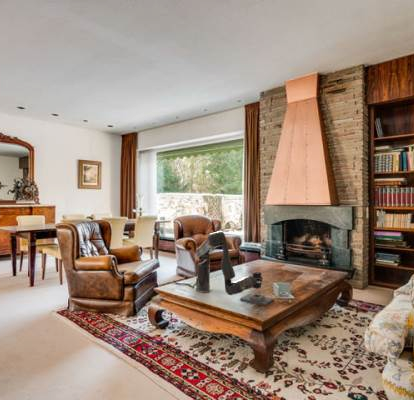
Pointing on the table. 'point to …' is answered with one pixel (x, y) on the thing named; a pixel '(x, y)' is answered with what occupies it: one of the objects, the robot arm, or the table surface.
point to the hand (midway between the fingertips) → (258, 277)
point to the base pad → (257, 299)
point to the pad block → (258, 275)
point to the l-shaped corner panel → (282, 290)
